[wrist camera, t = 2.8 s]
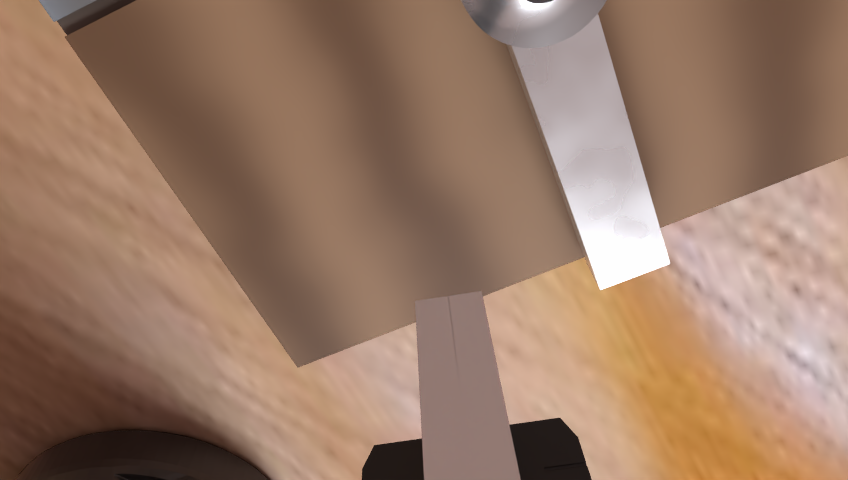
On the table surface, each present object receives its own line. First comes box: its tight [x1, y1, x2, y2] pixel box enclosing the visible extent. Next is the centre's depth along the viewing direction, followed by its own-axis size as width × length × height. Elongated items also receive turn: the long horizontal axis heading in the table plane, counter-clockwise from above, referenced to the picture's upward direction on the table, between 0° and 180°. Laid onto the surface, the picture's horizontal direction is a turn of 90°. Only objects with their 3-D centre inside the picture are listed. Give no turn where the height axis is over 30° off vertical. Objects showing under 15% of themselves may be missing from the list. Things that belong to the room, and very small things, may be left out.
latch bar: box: [461, 0, 670, 290], centre depth 20 cm, size 14×4×3 cm, turn 23°
